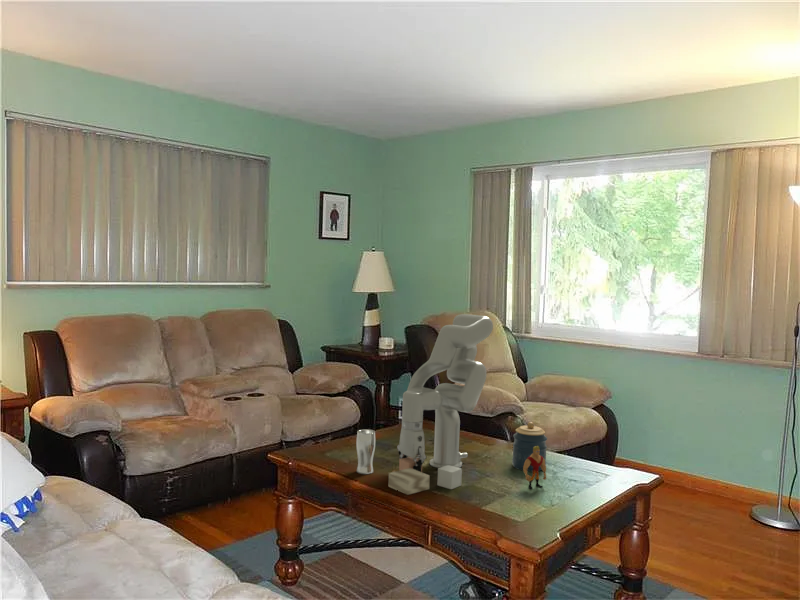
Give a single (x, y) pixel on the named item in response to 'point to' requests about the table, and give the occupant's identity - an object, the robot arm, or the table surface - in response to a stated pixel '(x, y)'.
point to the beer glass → (365, 450)
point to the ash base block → (409, 481)
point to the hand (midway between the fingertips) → (410, 472)
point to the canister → (528, 444)
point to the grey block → (449, 477)
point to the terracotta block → (407, 463)
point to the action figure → (534, 466)
